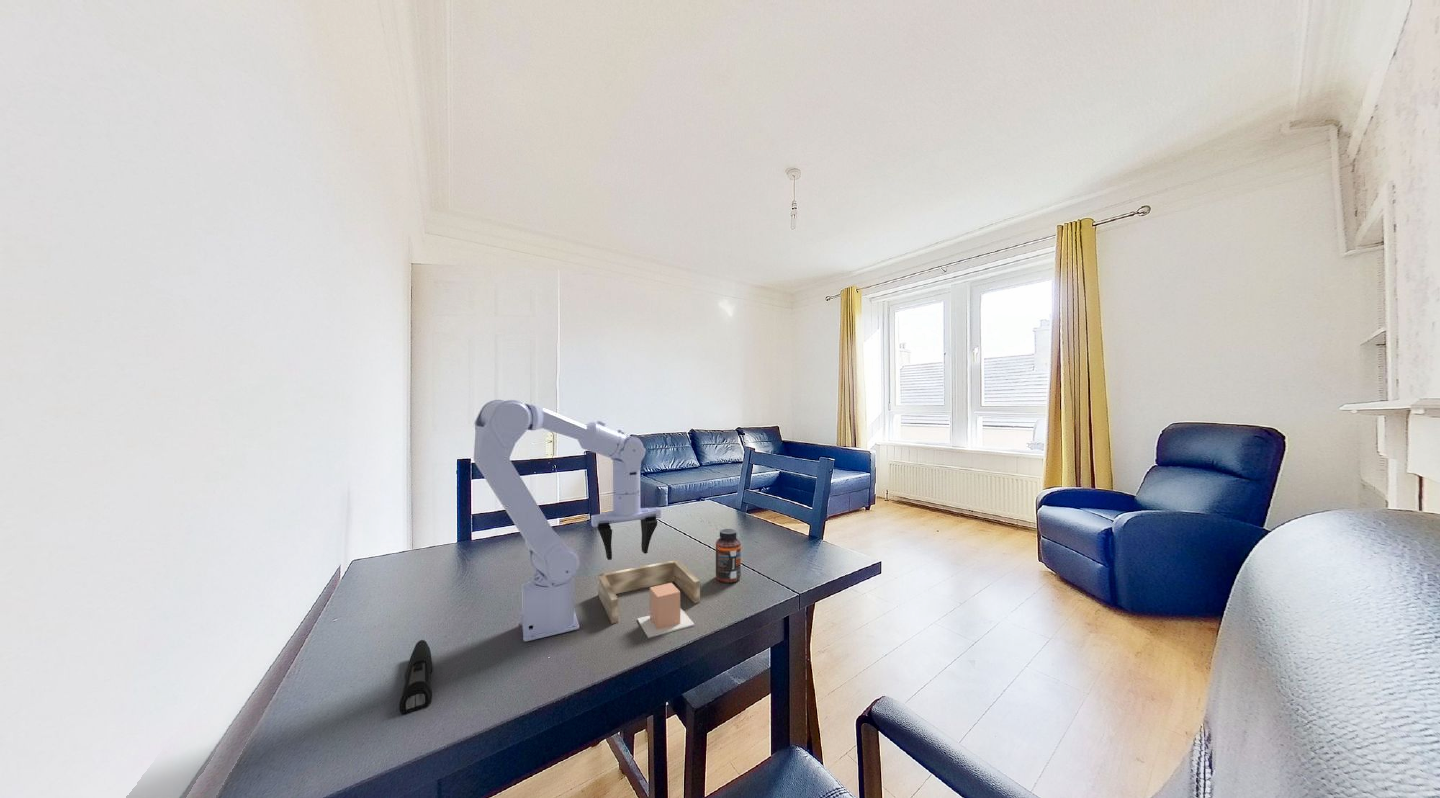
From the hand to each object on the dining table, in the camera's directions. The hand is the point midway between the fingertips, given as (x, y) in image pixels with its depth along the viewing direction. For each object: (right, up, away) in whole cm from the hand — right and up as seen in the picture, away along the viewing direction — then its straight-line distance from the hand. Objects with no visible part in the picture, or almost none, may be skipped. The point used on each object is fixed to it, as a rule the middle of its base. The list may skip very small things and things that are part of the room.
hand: (627, 555), depth 92 cm
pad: (+9, -9, -10) cm, 16 cm away
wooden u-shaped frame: (+4, -9, 0) cm, 10 cm away
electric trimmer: (-26, -10, -26) cm, 39 cm away
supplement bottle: (+22, -9, +10) cm, 26 cm away
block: (+9, -9, -10) cm, 16 cm away
